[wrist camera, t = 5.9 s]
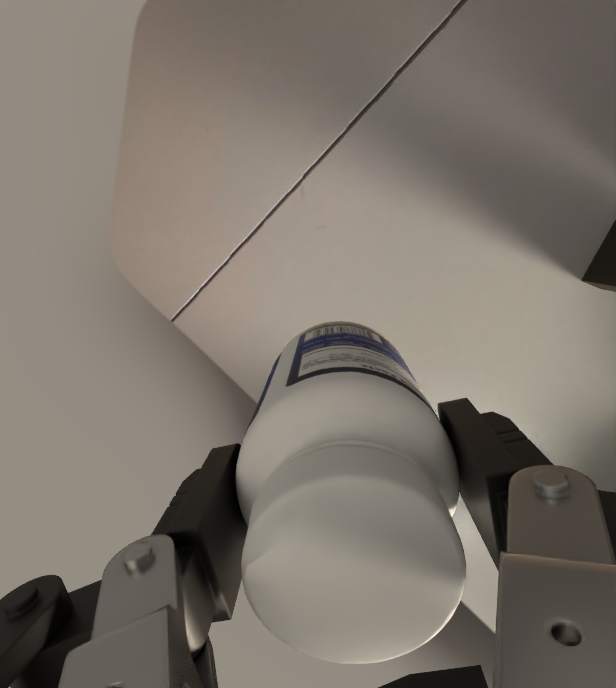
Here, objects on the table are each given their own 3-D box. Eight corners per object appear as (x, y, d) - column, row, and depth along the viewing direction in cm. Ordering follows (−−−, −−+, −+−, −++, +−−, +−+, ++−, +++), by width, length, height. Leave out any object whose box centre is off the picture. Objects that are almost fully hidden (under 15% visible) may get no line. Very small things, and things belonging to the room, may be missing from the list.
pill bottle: (338, 471, 18) (347, 740, 8) (244, 384, 17) (136, 573, 8) (436, 386, 17) (576, 587, 7) (340, 289, 16) (354, 372, 6)
